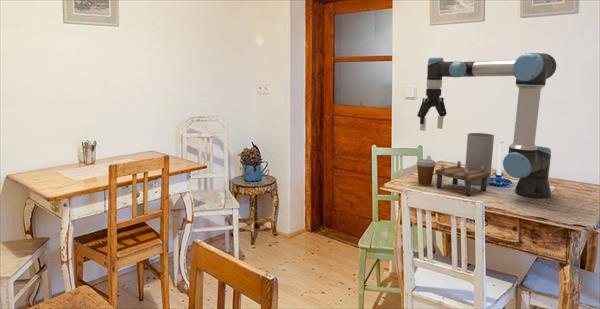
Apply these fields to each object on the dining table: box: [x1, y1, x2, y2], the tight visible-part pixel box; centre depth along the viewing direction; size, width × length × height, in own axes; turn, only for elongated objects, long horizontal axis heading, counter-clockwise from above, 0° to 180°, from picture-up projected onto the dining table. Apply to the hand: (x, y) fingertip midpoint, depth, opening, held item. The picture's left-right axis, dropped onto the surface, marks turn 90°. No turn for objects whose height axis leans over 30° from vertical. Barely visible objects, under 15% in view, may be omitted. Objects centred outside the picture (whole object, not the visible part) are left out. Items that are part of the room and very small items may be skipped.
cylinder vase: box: [464, 132, 495, 187], centre depth 241 cm, size 12×12×25 cm
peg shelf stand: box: [434, 160, 489, 197], centre depth 229 cm, size 19×16×12 cm
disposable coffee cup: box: [416, 158, 437, 187], centre depth 239 cm, size 10×10×12 cm
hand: (431, 129), depth 246 cm, fingers open, 13 cm apart
